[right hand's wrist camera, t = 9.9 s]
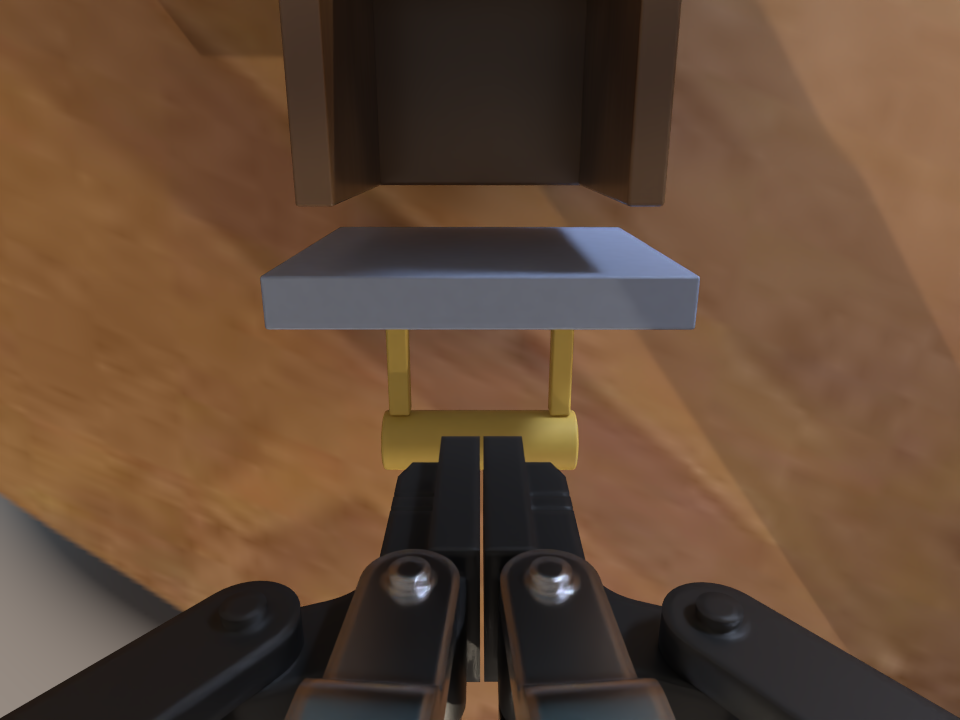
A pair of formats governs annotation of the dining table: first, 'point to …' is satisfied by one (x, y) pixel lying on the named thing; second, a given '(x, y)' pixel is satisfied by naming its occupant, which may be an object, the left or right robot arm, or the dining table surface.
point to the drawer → (480, 161)
